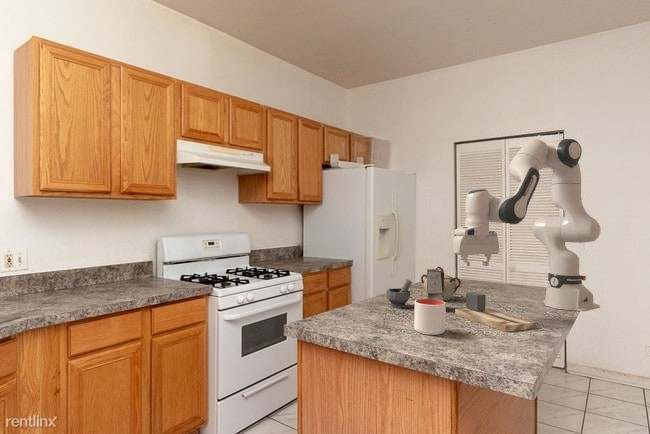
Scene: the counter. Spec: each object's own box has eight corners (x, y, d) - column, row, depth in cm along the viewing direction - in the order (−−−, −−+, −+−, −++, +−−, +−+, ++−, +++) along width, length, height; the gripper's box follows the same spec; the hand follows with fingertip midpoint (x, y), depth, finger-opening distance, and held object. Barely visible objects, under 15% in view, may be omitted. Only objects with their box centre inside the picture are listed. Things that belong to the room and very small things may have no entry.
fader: (474, 306, 160) (474, 291, 160) (485, 310, 154) (485, 294, 154) (466, 307, 158) (466, 292, 158) (477, 311, 153) (477, 295, 153)
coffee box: (444, 312, 160) (444, 272, 160) (427, 311, 162) (428, 271, 162) (442, 307, 169) (442, 269, 169) (426, 306, 171) (426, 268, 171)
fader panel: (482, 311, 162) (482, 306, 162) (535, 328, 139) (536, 322, 139) (455, 314, 157) (455, 308, 157) (505, 332, 134) (505, 325, 134)
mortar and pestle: (382, 306, 169) (382, 278, 169) (394, 303, 176) (394, 275, 176) (405, 311, 161) (405, 281, 161) (417, 307, 168) (417, 278, 168)
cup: (440, 338, 126) (440, 306, 126) (409, 332, 132) (410, 302, 132) (448, 330, 135) (449, 301, 135) (419, 325, 140) (420, 297, 140)
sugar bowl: (412, 298, 187) (413, 266, 187) (428, 293, 198) (428, 263, 198) (453, 304, 174) (453, 270, 174) (467, 299, 185) (467, 267, 185)
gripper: (491, 230, 163) (490, 264, 163) (450, 230, 155) (450, 265, 155) (503, 231, 157) (502, 266, 157) (461, 231, 150) (461, 267, 150)
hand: (476, 266), depth 156 cm, fingers open, 8 cm apart
